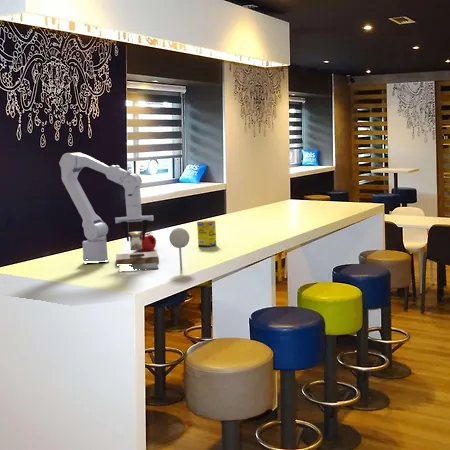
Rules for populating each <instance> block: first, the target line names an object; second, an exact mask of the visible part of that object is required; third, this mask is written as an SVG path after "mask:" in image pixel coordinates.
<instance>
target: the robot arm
mask: <svg viewBox="0 0 450 450" xmlns="http://www.w3.org/2000/svg"><path fill="white" fill-rule="evenodd" d="M58 164H59V167H60V171H61V174H60V175H61V181H62V183H63V185H64V186H65V189H66V191H67V192H68V194H69V195H70V198H71V200H72V202H73V204H74V205H75V207H76V209H77V212H78V214H79V215H80V218H81V219H82V224H81V226H82V228H83V234H84V237H85V239H87V240H83V241H82V259H83V262H84V261H105V260H108V258H109V257H108V246H107V245H108V243H107V235H108V233H109V226H108V225H107V223H106V222H104V221H103V220H102V217H100V216H99V215H98V214H96V212H95V210H94V208H93V206H92V204H91V202H90V201H89V199H88V197H87V195H86V193H85V191H84V190H83V187H82V185H81V184H80V182H79V180H78V176H79V173H80V172H81V171H82V170H83V168H86V167H87V168H90V169H92V170H95V171H97V172H100V173H102V174H104V175H105V176H106V179H107V180H110V181H112V182H114V183H115V184H118V185H121V186H122V187H123V188H124V192H125V193H124V195H125V196H124V197H125V208H126V216H121V217H114V220H115V221H114V222H115V224H120V226H121V227H122V229H123V232H124V234H125V236H126V237H125V238H126V242H130V236H129V235H128V233H129V231H128V230H129V229H128V226H129V225H128V223H134V222H135V223H136V222H141V227H142V233H143V235H142V237H143V240H145V234H147V228H148V225H149V224H150V223H149V222H153V221H154V215H151V214H150V215H142V199H141V197H142V196H141V186H142V177H141V176H140V175H139V174H138V173H137V172H133V173H131V171H130V170H126V169H123V168H121V167H120V165H118V164H116V165H114V164H112V165H110V166H109V165H107V164H105V163H104V162H101V161H100V160H97V159H95V158H94V157H92V156H90V155H87V154H85V153H82V152H78V151H77V152H66V153H63V154H62V156H61V158H60V160H59V162H58ZM86 259H88V260H86Z"/></svg>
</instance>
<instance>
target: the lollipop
mask: <svg viewBox="0 0 450 450" xmlns="http://www.w3.org/2000/svg"><path fill="white" fill-rule="evenodd" d="M169 242H170V244H171V246H173V247H174V248H176V249H178V253H179V266H180V271H183V261H182V260H183V259H182V248H185V247H186V246H187V245H188V244H189V242H190V234H189V232H188V231H187V230H186V229H184V228H183V227H178V228H174V229H172V231H171V232H170V234H169Z"/></svg>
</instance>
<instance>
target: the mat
mask: <svg viewBox="0 0 450 450" xmlns="http://www.w3.org/2000/svg"><path fill="white" fill-rule="evenodd" d="M129 266H131V267H133V269H134V270H135V269H137V270H139V269H140V270H142V271H146V270H145V269H155V270H159V267H158V263H145V264H132V265H129Z"/></svg>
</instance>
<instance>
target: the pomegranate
mask: <svg viewBox="0 0 450 450" xmlns="http://www.w3.org/2000/svg"><path fill="white" fill-rule="evenodd" d="M142 235H143V234H142ZM142 235H141V238H142V249H141V250H137V252H152V251H154V249H155V248H156V246H157V245H156V244H157V240H156V237H155V236H154V235H152V232H146V233H145V240H143V237H142Z"/></svg>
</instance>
